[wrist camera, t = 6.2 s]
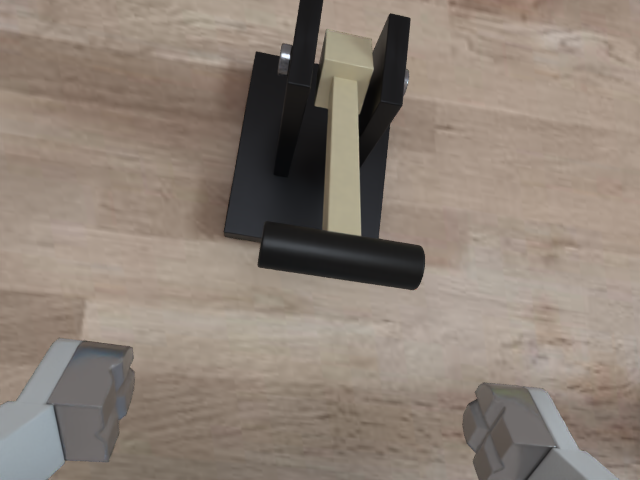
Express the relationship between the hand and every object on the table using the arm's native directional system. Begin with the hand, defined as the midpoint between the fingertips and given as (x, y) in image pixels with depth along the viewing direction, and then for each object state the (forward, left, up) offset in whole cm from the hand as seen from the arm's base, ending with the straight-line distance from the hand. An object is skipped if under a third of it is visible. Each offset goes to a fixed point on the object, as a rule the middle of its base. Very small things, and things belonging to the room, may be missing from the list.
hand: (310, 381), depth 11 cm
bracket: (+12, +6, -19) cm, 23 cm away
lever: (+7, +4, -6) cm, 11 cm away
